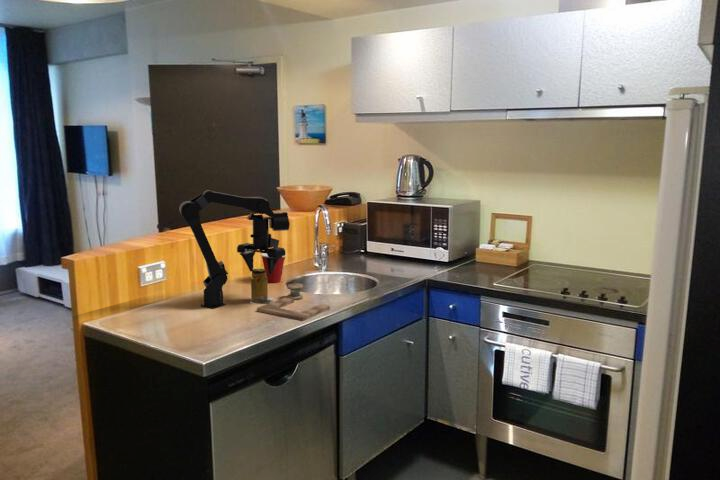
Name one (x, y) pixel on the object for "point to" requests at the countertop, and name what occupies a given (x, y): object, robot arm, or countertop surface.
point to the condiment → (259, 287)
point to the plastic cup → (277, 270)
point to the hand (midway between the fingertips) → (261, 272)
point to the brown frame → (276, 310)
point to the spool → (295, 291)
